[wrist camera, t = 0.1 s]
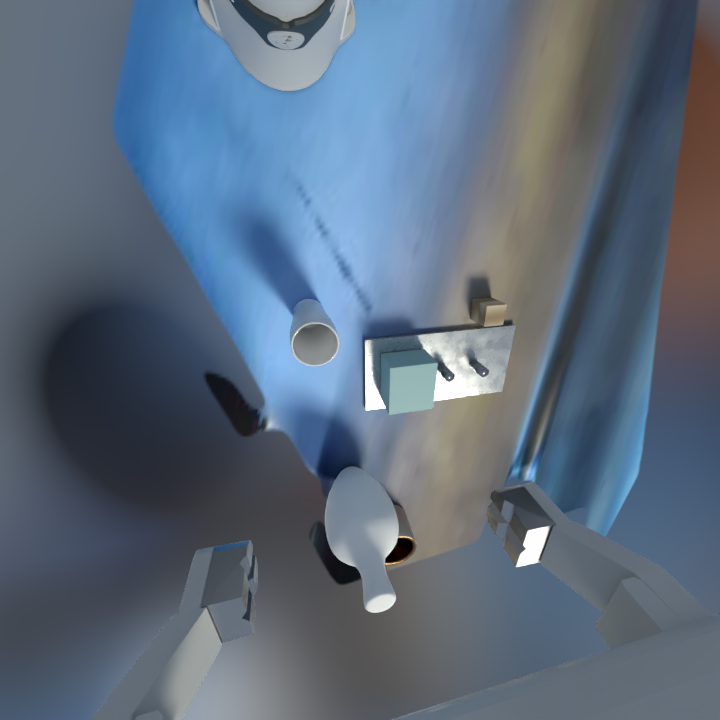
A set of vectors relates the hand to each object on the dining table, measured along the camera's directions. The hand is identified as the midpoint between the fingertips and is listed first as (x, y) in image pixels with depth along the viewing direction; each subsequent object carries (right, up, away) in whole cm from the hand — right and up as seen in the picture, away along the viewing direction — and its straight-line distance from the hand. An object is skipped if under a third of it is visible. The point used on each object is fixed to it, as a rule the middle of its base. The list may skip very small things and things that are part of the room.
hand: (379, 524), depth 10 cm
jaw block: (+23, +16, +52) cm, 60 cm away
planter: (+6, -36, +74) cm, 83 cm away
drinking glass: (-10, +14, +46) cm, 49 cm away
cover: (+8, +3, +53) cm, 54 cm away
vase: (-3, -21, +64) cm, 68 cm away
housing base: (+16, +4, +56) cm, 58 cm away
